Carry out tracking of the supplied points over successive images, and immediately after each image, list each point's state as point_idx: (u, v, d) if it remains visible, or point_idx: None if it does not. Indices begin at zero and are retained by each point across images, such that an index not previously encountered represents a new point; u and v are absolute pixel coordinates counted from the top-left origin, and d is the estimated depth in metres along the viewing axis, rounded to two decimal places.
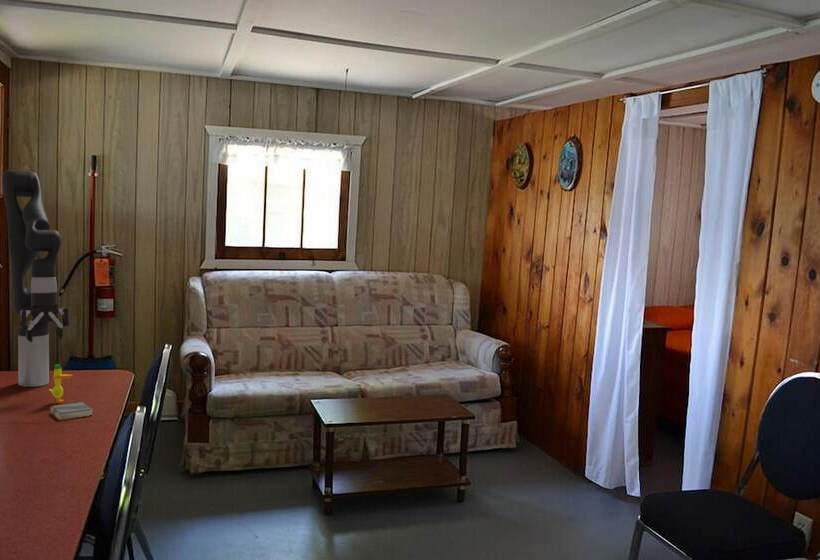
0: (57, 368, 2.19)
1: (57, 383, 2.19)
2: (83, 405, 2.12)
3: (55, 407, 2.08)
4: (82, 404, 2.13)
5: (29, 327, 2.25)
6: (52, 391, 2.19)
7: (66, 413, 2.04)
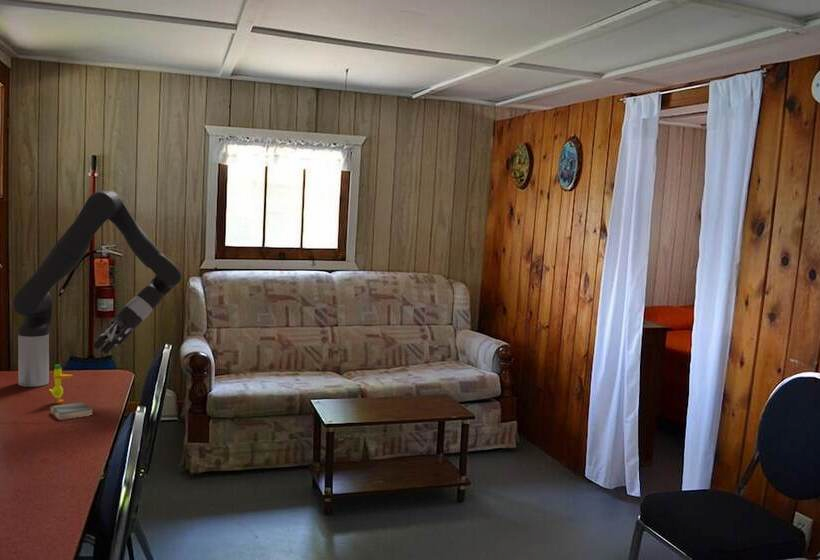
0: (57, 368, 2.19)
1: (57, 383, 2.19)
2: (83, 405, 2.12)
3: (55, 407, 2.08)
4: (82, 404, 2.13)
5: None
6: (52, 391, 2.19)
7: (66, 413, 2.04)
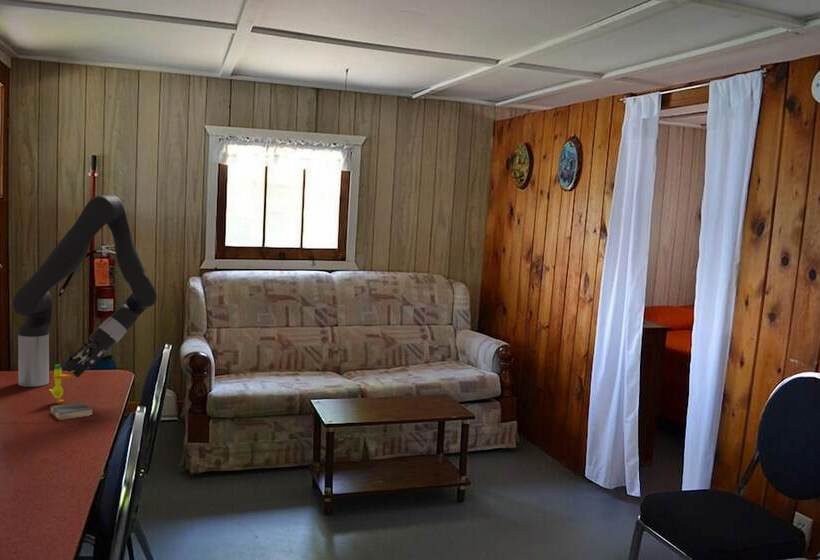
0: (57, 368, 2.19)
1: (57, 383, 2.19)
2: (83, 405, 2.12)
3: (55, 407, 2.08)
4: (82, 404, 2.13)
5: None
6: (52, 391, 2.19)
7: (66, 413, 2.04)
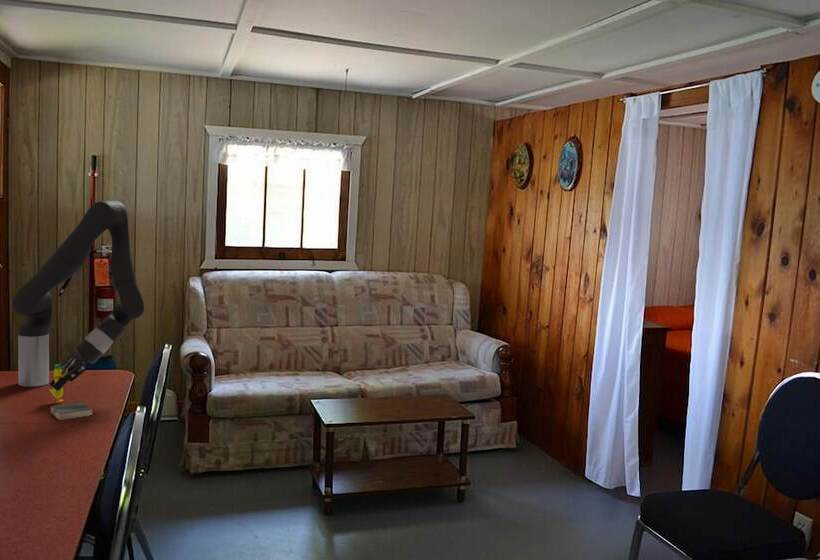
0: (57, 368, 2.19)
1: None
2: (83, 405, 2.12)
3: (55, 407, 2.08)
4: (82, 404, 2.13)
5: None
6: (52, 391, 2.19)
7: (66, 413, 2.04)
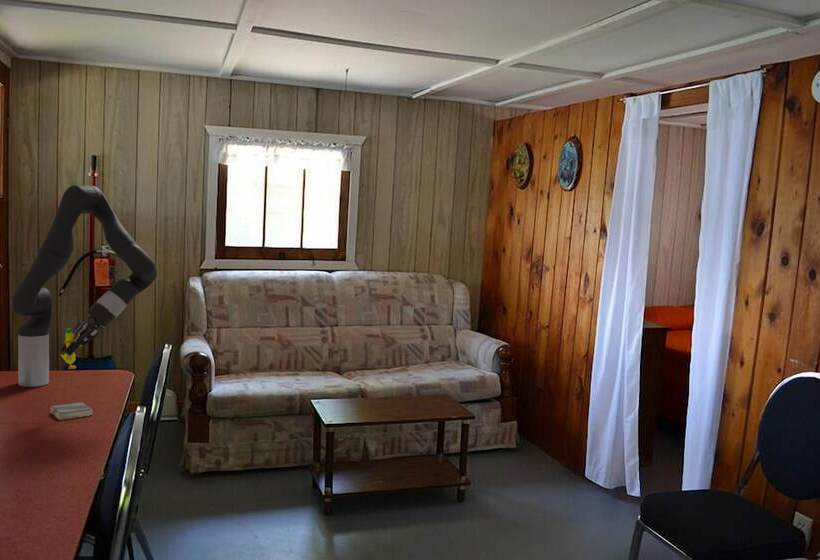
0: (69, 332, 2.08)
1: None
2: (83, 405, 2.12)
3: (55, 407, 2.08)
4: (82, 404, 2.13)
5: None
6: (64, 356, 2.09)
7: (66, 413, 2.04)
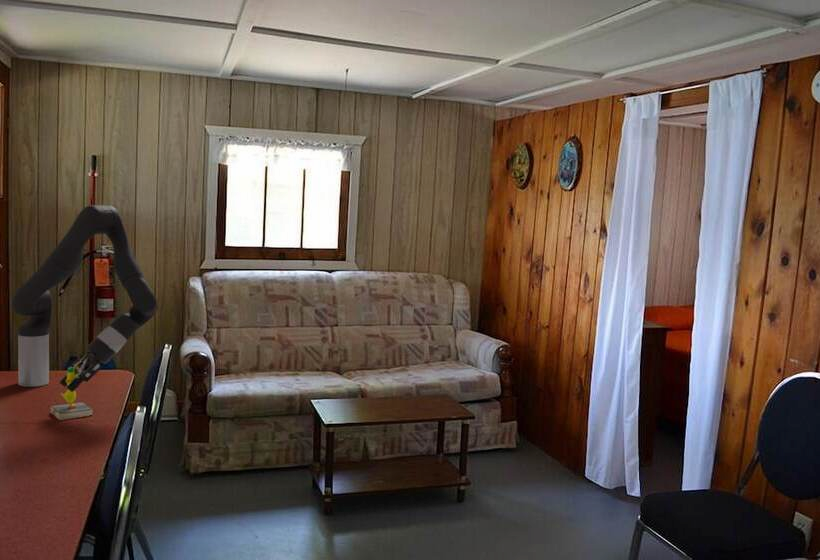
0: (70, 371, 2.07)
1: None
2: (83, 405, 2.12)
3: (55, 407, 2.08)
4: (82, 404, 2.13)
5: None
6: (64, 395, 2.08)
7: (66, 413, 2.04)
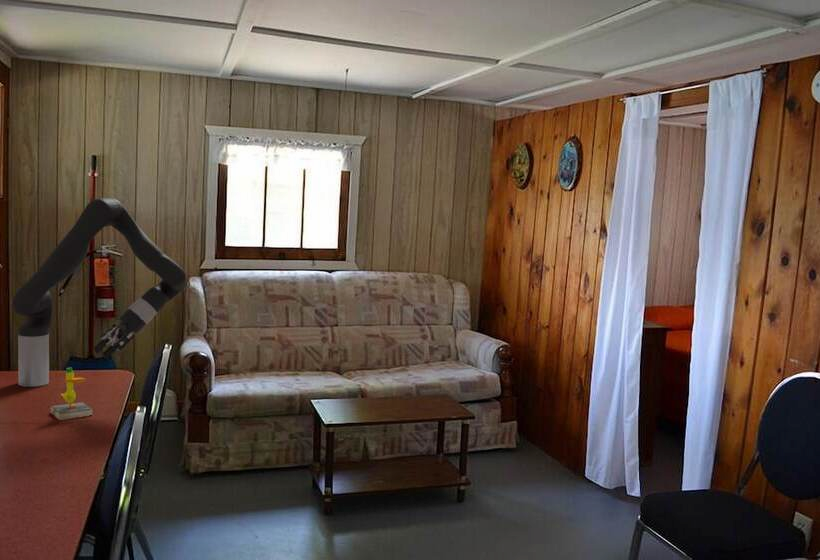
0: (69, 371, 2.07)
1: (69, 387, 2.08)
2: (83, 405, 2.12)
3: (55, 407, 2.08)
4: (82, 404, 2.13)
5: None
6: (64, 396, 2.08)
7: (66, 413, 2.04)
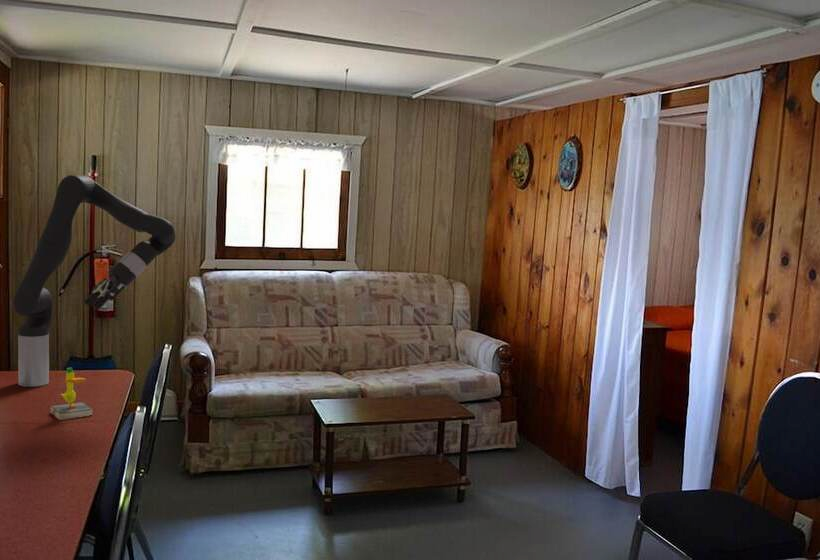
0: (69, 371, 2.07)
1: (69, 388, 2.08)
2: (83, 405, 2.12)
3: (55, 407, 2.08)
4: (82, 404, 2.13)
5: None
6: (64, 396, 2.08)
7: (66, 413, 2.04)
